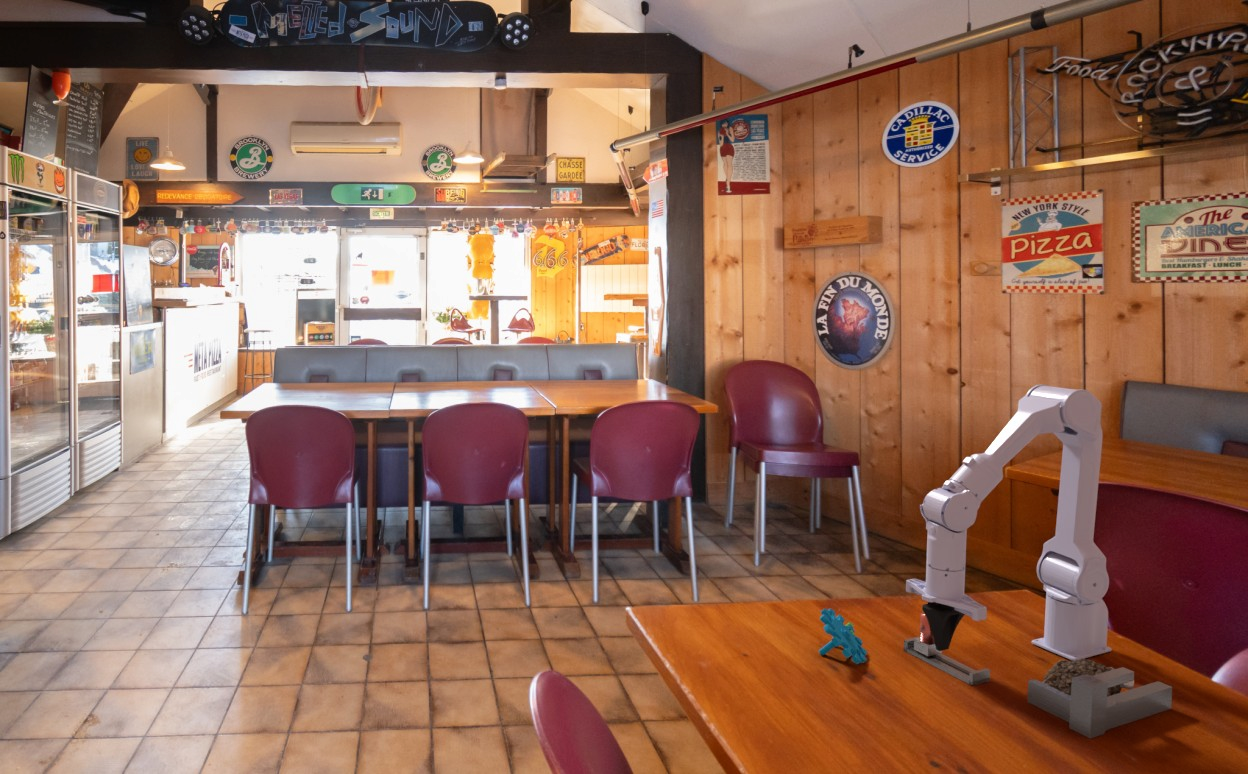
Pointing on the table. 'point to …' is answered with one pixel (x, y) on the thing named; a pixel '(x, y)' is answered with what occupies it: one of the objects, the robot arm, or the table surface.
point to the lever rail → (950, 665)
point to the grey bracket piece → (1101, 701)
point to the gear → (842, 637)
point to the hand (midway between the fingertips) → (942, 649)
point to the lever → (925, 638)
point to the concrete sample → (1075, 674)
